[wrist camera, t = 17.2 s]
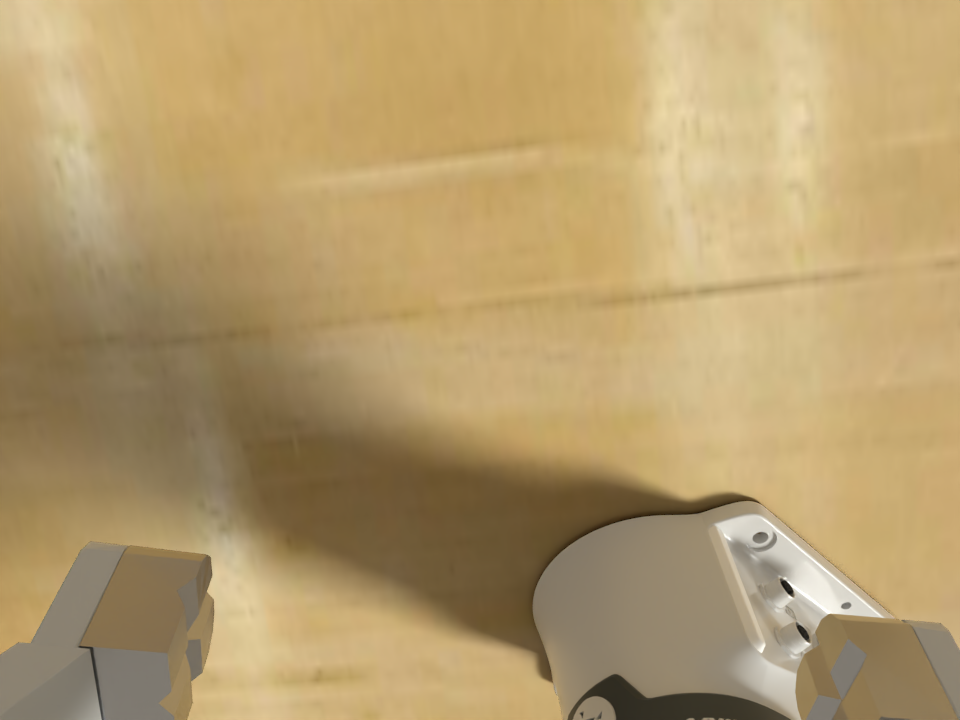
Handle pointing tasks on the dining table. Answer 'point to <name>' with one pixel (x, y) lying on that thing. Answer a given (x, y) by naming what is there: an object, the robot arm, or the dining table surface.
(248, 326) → the dining table surface
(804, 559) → the robot arm
